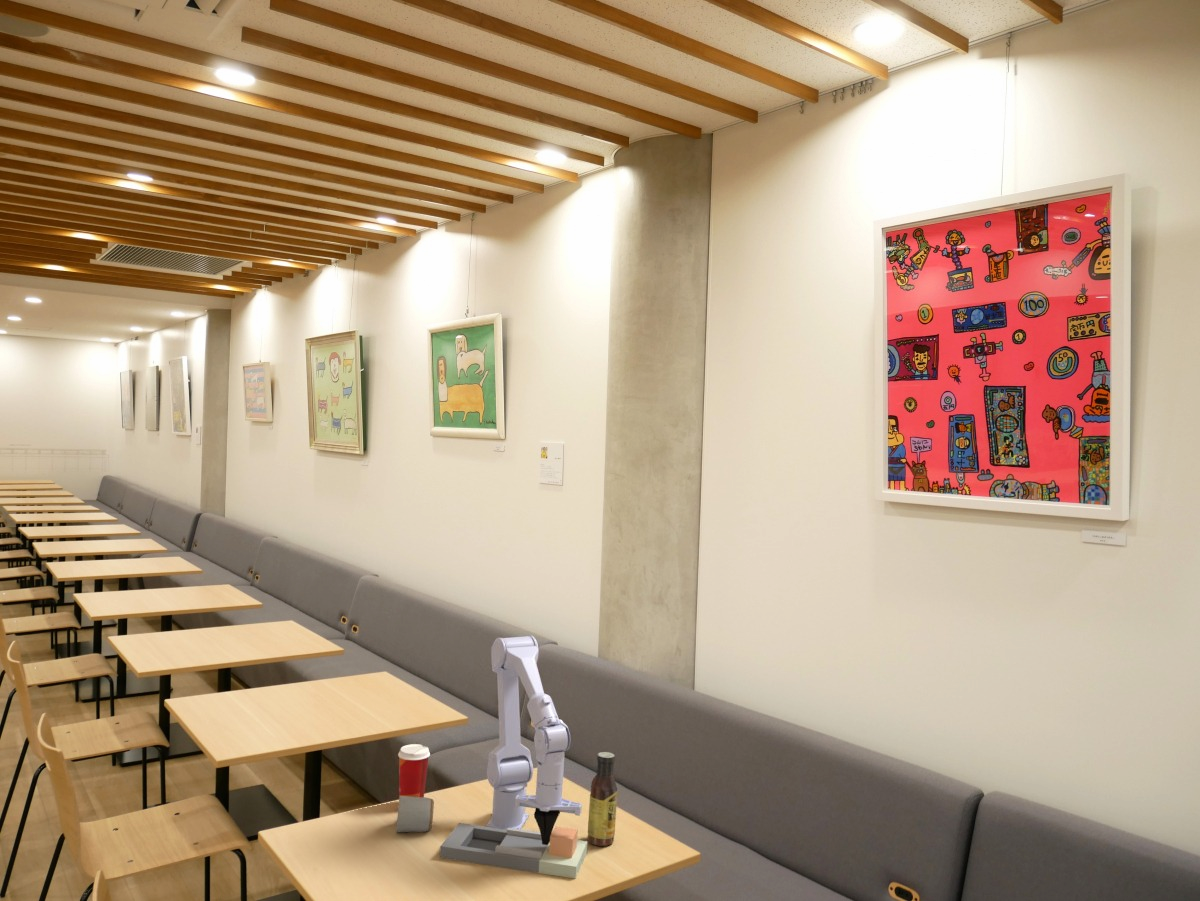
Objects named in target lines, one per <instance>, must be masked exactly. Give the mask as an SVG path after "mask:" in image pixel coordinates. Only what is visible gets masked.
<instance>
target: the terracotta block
mask: <svg viewBox="0 0 1200 901" xmlns="http://www.w3.org/2000/svg"><path fill="white" fill-rule="evenodd" d="M577 840H578V829H577V828H570V827H565V826H555V825H554V827H553V830H552V833H551V835H550V847H549V855H555V856H562V857H569V858H572V856H573V854H574V852H575V850H576V848H577Z"/></svg>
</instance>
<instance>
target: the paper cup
mask: <svg viewBox="0 0 1200 901" xmlns="http://www.w3.org/2000/svg"><path fill="white" fill-rule="evenodd" d="M429 749H430V748H429V747H428V746H425V745H422V744H418V743H417V744H416V743H413V744H412V743H411V744H406V745H403V746H401V747H400V748H399V752H398V754H397V756H398V757H399V758H398V759H399V760H398V761H399V764H398V765H399V768H398V770H399V772H398V773H399V774H398V777H399V780H398V783H399V784H398V793H399V795H398V798H399V797H400V796H410V797H425V789H426V783H427V774H428V765H429V757H430V756H431V753H430V750H429Z"/></svg>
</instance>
